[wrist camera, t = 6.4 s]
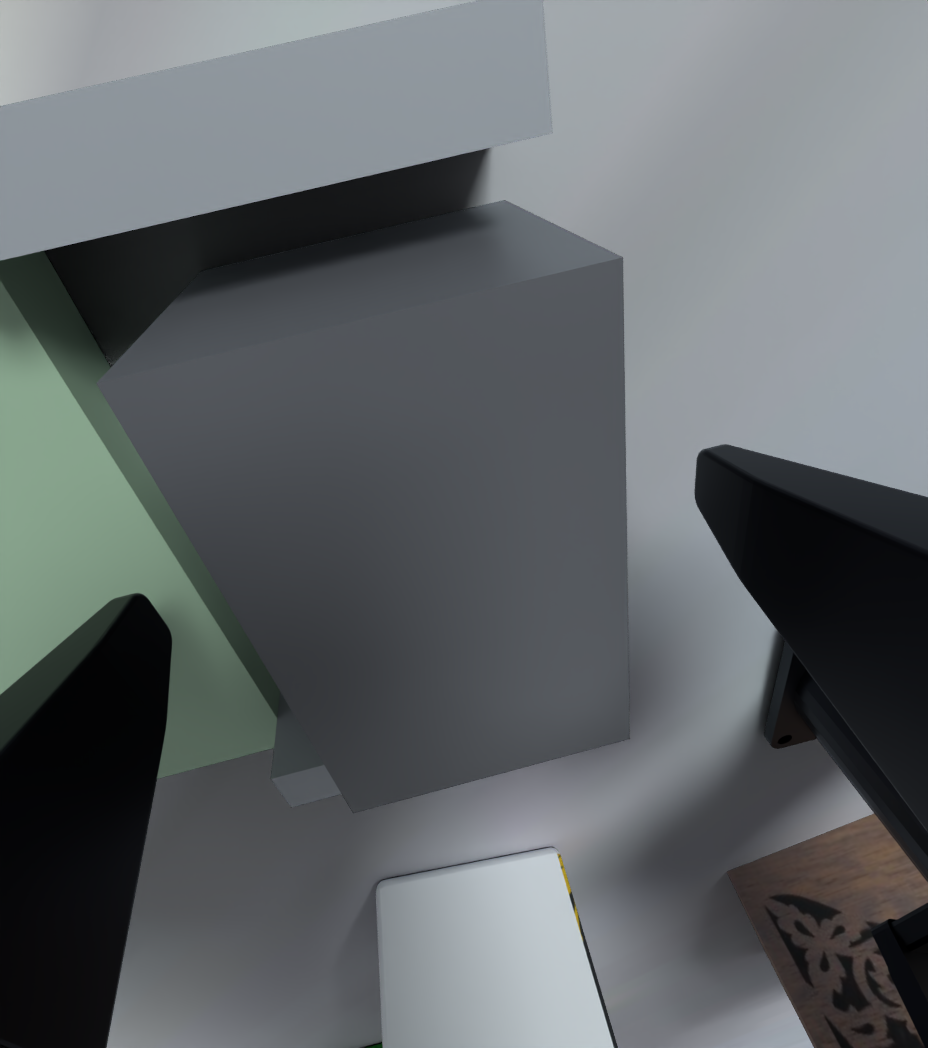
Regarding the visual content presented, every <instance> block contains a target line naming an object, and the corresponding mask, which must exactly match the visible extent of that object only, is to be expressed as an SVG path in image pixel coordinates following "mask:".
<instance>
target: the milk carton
mask: <svg viewBox="0 0 928 1048" xmlns="http://www.w3.org/2000/svg"><path fill="white" fill-rule="evenodd" d="M366 1048H383V1045H382V1043H381V1044H377V1045H374V1046H370V1047H366Z"/></svg>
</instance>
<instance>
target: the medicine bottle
mask: <svg viewBox="0 0 928 1048" xmlns="http://www.w3.org/2000/svg"><path fill="white" fill-rule="evenodd" d="M376 909H377V932H378V954H379V977H380V1000H381V1022H382V1045H383V1048H618V1046H617V1043H616V1040H615V1036H614V1033H613V1030H612V1026H611V1023H610V1019H609V1016H608V1013H607V1009H606V1006H605V1003H604V999H603V996H602V993H601V989H600V986H599V983H598V979H597V976H596V973H595V969H594V966H593V962H592V959H591V956H590V952H589V949H588V946H587V942H586V939H585V936H584V932H583V929H582V926H581V922H580V919H579V915H578V912H577V909H576V905H575V902H574V899H573V895H572V892H571V889H570V885H569V882H568V879H567V875H566V872H565V869H564V865H563V862H562V858H561V856H560V854H559V852H558V850H557V849H555V848H552V847H549V848H544V849H539V850H534V851H529V852H524V853H519V854H513V855H508V856H503V857H498V858H493V859H488V860H483V861H478V862H473V863H467V864H462V865H457V866H452V867H447V868H442V869H437V870H432V871H427V872H422V873H416V874H411V875H406V876H401V877H396V878H391V879H386V880H382V881H381V882H380V883H379V884H378V886H377V890H376Z"/></svg>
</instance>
